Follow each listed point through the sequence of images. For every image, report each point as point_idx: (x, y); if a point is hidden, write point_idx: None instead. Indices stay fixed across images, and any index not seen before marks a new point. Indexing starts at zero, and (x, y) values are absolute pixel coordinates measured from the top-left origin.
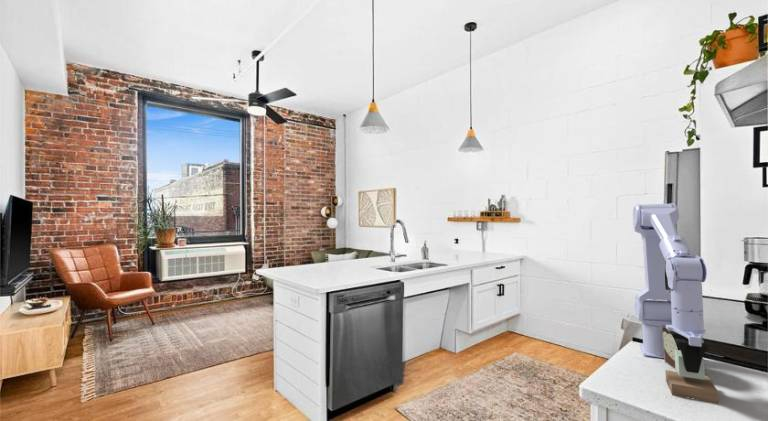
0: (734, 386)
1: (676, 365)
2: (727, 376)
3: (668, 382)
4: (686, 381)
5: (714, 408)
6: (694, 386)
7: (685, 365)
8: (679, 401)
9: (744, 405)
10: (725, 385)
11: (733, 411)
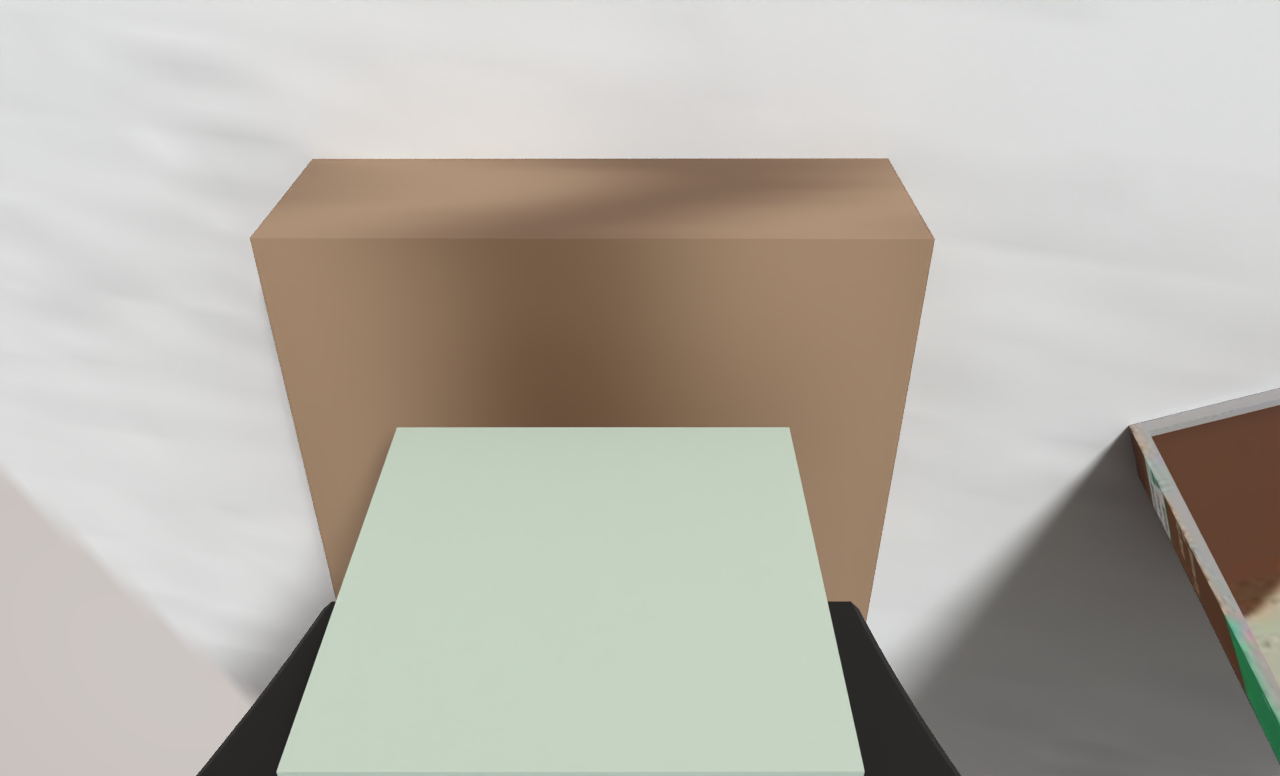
0: (956, 759)
1: (656, 500)
2: (1237, 765)
3: (618, 189)
4: None
5: (205, 521)
6: (352, 509)
7: (262, 693)
8: (134, 218)
9: None
10: (959, 709)
11: (254, 640)
